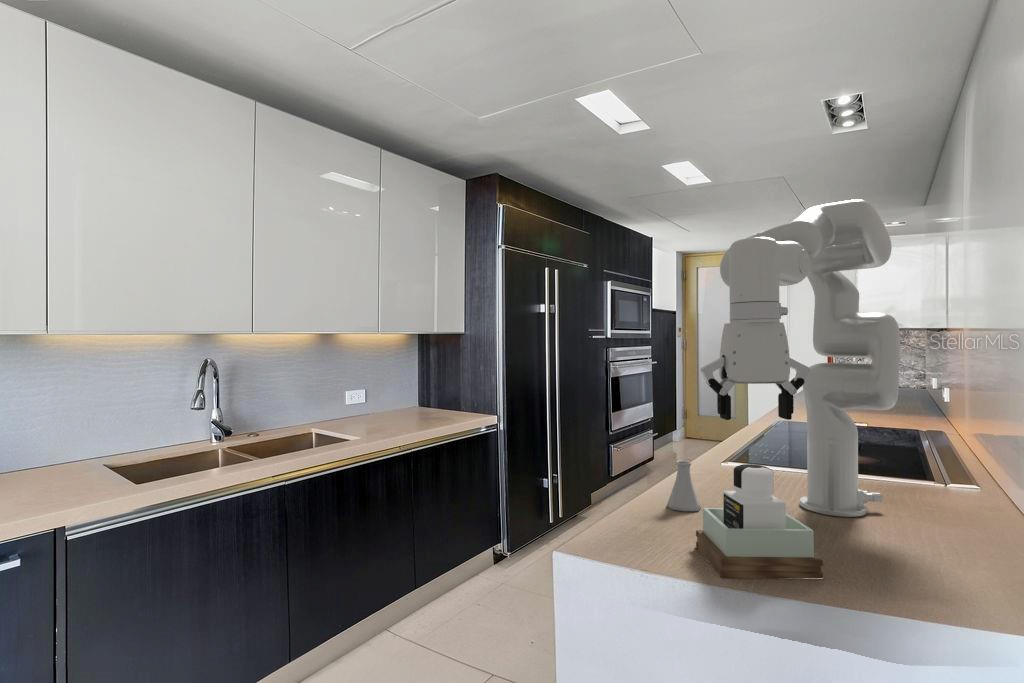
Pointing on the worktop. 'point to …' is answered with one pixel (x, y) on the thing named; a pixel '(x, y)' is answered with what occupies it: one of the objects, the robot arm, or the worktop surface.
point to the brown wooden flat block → (758, 563)
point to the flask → (683, 490)
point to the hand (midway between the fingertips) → (755, 418)
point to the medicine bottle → (753, 500)
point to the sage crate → (758, 538)
